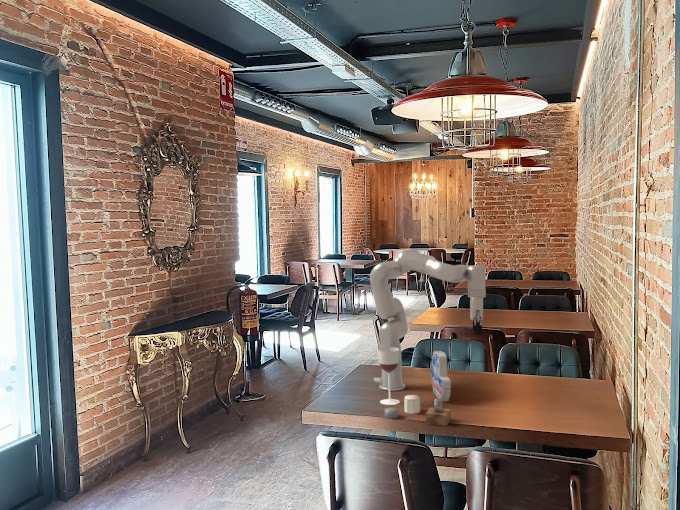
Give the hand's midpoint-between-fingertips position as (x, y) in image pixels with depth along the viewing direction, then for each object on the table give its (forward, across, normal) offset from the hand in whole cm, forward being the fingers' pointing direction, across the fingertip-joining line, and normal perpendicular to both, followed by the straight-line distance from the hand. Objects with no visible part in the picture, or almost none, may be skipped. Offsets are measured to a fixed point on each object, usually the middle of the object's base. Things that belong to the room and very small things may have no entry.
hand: (477, 332), depth 251 cm
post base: (+29, +33, -17) cm, 47 cm away
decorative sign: (+29, -1, -16) cm, 34 cm away
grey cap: (+29, +29, -36) cm, 54 cm away
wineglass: (+29, +9, -38) cm, 49 cm away
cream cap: (+29, +22, -28) cm, 46 cm away
